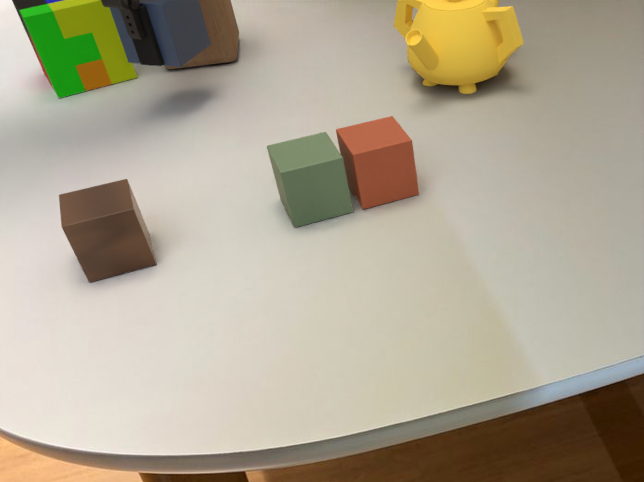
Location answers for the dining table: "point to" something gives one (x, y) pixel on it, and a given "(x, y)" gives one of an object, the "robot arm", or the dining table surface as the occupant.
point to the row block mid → (310, 179)
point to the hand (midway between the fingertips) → (170, 51)
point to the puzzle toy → (75, 44)
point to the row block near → (106, 230)
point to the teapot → (457, 39)
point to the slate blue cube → (169, 30)
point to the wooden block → (217, 34)
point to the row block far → (378, 161)
